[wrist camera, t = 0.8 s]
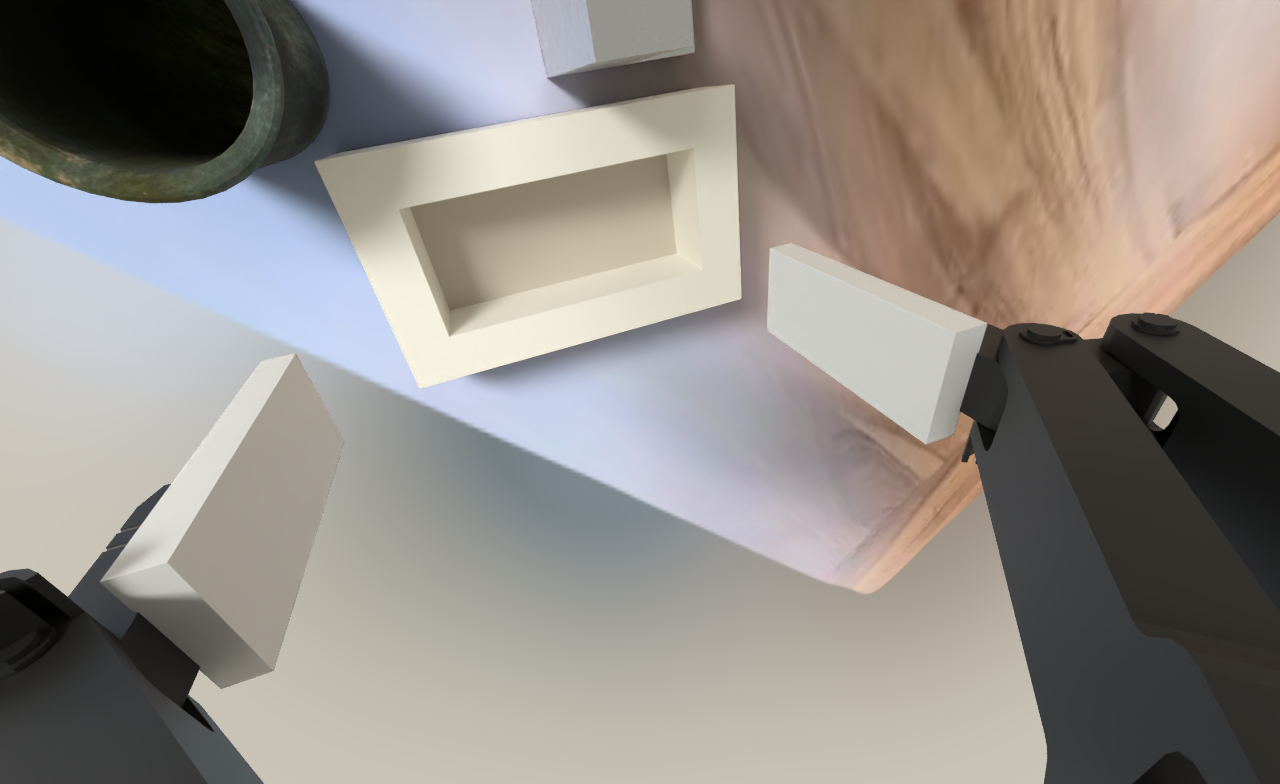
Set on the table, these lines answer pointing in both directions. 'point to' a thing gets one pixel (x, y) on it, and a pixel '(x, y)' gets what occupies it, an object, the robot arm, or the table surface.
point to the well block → (546, 227)
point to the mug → (157, 93)
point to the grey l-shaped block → (611, 32)
